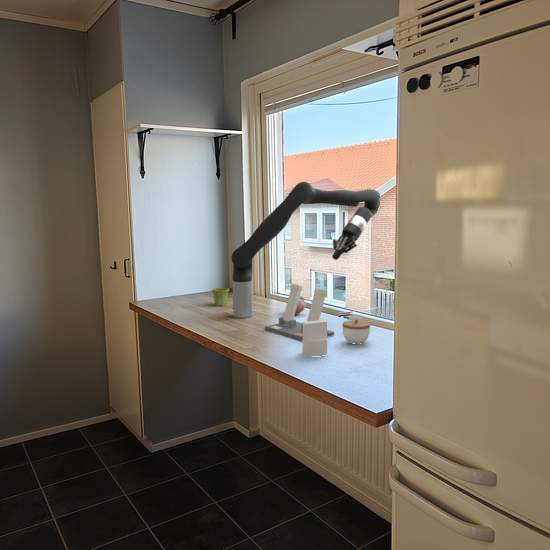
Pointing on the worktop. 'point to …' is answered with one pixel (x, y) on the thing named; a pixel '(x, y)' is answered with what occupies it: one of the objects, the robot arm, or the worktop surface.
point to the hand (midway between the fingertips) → (334, 258)
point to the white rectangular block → (315, 338)
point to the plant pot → (220, 296)
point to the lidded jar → (356, 331)
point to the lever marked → (316, 305)
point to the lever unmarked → (292, 303)
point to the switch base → (290, 329)
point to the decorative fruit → (300, 305)
